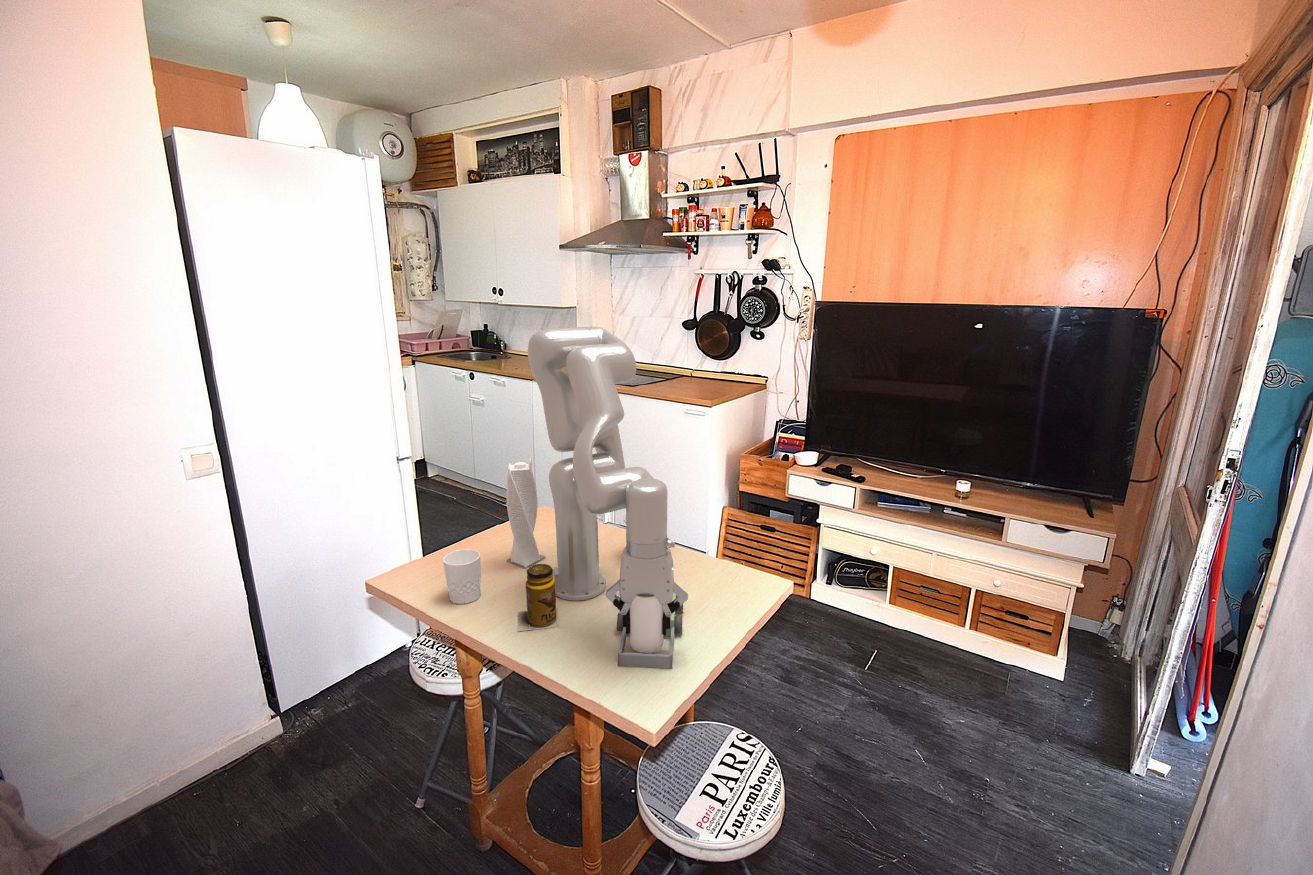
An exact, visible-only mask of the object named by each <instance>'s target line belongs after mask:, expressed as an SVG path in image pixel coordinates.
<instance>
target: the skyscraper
mask: <svg viewBox="0 0 1313 875" xmlns="http://www.w3.org/2000/svg"><path fill="white" fill-rule="evenodd" d="M532 465H533V462H532V458H531V457H529V459H528V463H526V462H525V461H518V462H515V463H514V464H512V463H510V462H509V463H508V464H507V476H506V477H507V478H506V509H507V514H508V515H507V516H508V522H509V525H510V529H511V532H512V535H513V541H512V548H511V549H512V550H511V557H510V558H507V559H506V563H510V564H512V565H516V566H518V567H521V568H524V569H527V570H528V568H529V567H531V566H533V565H535V564H539V563H540V562H541V561H543V560H545V559H546V556H545V555H543V554H541V553H540V552H539V548H538V545H537V542H536V539H535V536H534V531H535V526H536V522H537V515H538V502H539V501H538V492H537V486H536V482H535V477H534V473H533V470H532Z"/></svg>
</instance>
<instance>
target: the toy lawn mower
mask: <svg viewBox="0 0 1313 875" xmlns="http://www.w3.org/2000/svg"><path fill="white" fill-rule="evenodd" d="M677 597H678V596H677V595H676V594H675V593H674V592H673V599H672V601H673V600H675V599H677ZM677 613H684V603H683V604H682V605H681V606H680V607H679V608H678V609H677V610H676V611H675V612H674V613H672V615H671V621H670V629H667V632H666V635H663V639H664V638H665V639H667V638H668V639H670V641H669V642H670V643H669V654H658V653H655V654H654V653H650V654H643V653H639V652H625V647H626V643H627V637H630V633H629V634H626V627H623V615H622V614H621V612H618V613H617V618H616V631H617V632H621V635H620V641H619V646H618V651H617V655H616V656H617V667H629V668H647V669H648V668H652V669H668V670H669V669H670V670H672V669H673V665H674V664H673V663H674V650H675V649H674V648H675V647H674V646H675V635H683V615H678V614H677ZM676 614H677V615H676Z"/></svg>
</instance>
